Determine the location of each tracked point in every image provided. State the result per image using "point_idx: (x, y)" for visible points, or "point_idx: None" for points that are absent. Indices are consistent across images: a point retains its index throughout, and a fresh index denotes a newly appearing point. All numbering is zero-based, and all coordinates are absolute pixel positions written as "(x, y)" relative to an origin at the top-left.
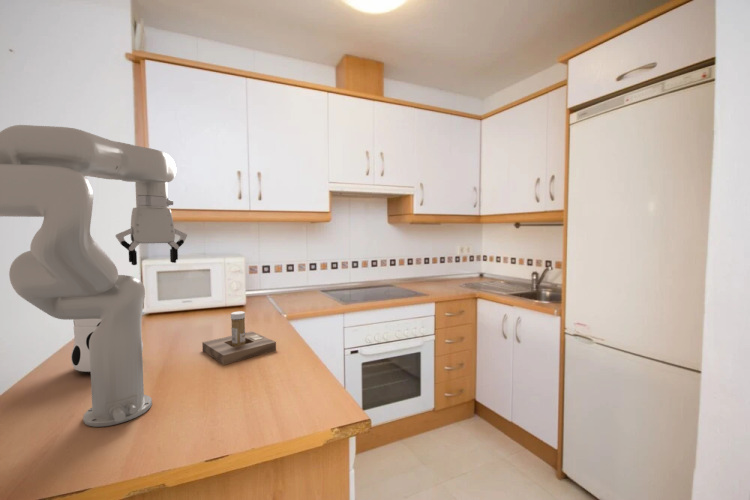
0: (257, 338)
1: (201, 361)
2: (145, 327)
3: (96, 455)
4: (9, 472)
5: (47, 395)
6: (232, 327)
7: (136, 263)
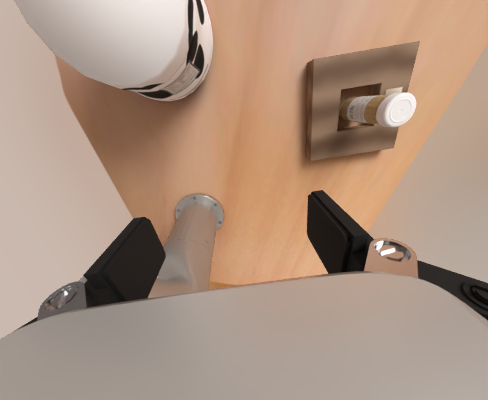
0: None
1: (288, 123)
2: None
3: None
4: None
5: (119, 130)
6: (364, 113)
7: (163, 259)
